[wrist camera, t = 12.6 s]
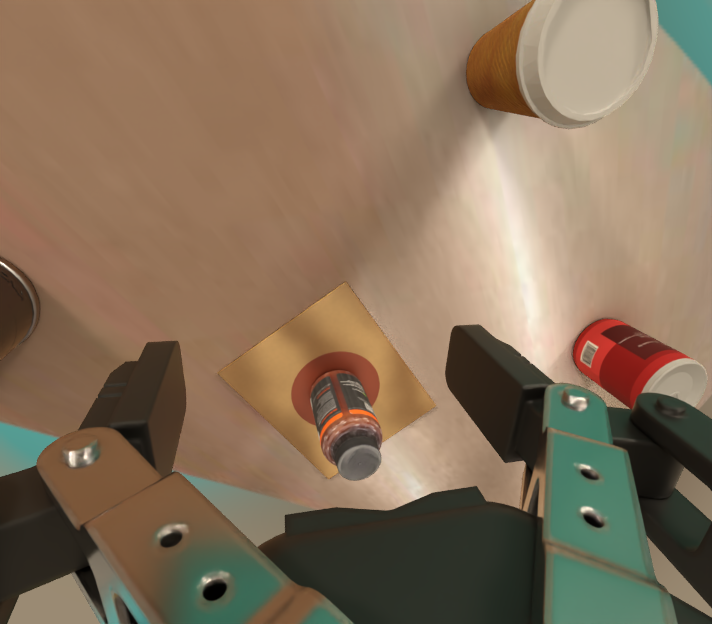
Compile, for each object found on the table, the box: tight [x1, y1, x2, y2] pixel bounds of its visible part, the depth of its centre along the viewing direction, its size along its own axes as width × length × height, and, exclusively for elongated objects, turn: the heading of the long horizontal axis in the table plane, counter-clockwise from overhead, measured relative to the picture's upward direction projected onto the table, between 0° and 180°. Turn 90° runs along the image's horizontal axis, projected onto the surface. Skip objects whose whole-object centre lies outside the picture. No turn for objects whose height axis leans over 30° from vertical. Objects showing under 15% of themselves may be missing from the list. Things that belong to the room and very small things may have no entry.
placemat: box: [218, 282, 436, 479], centre depth 47 cm, size 16×20×1 cm
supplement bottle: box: [310, 370, 383, 481], centre depth 41 cm, size 6×6×11 cm
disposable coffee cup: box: [466, 0, 658, 129], centre depth 32 cm, size 10×10×12 cm
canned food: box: [573, 319, 707, 409], centre depth 48 cm, size 8×8×11 cm
